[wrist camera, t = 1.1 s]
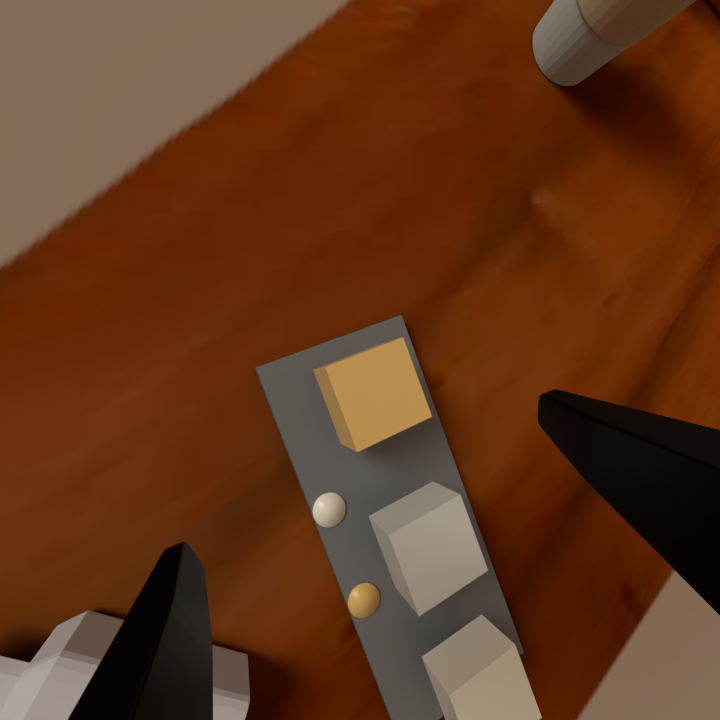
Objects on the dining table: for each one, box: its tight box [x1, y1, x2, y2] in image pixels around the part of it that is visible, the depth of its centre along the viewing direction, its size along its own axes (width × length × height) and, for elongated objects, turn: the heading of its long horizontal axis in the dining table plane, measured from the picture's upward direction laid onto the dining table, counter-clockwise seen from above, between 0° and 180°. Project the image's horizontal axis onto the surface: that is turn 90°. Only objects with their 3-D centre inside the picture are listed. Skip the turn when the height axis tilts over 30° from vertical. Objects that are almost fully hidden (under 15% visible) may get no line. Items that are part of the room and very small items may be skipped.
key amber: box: [313, 337, 432, 452], centre depth 21 cm, size 4×4×3 cm
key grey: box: [369, 482, 488, 616], centre depth 21 cm, size 4×4×3 cm
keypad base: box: [255, 315, 524, 720], centre depth 25 cm, size 25×10×1 cm, turn 21°
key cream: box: [422, 614, 542, 720], centre depth 22 cm, size 4×4×3 cm
